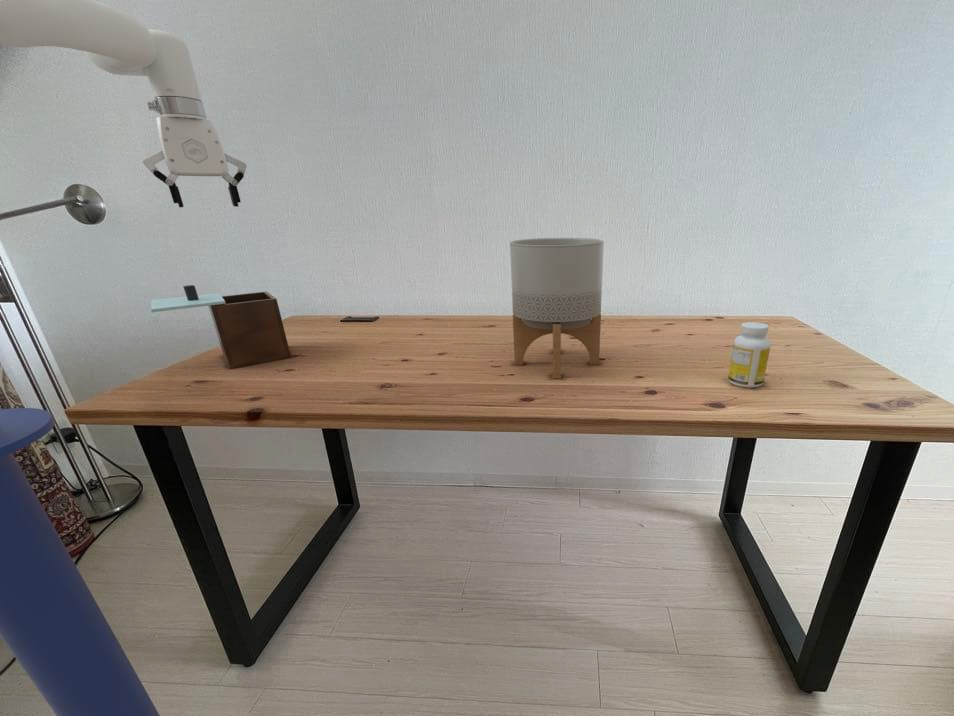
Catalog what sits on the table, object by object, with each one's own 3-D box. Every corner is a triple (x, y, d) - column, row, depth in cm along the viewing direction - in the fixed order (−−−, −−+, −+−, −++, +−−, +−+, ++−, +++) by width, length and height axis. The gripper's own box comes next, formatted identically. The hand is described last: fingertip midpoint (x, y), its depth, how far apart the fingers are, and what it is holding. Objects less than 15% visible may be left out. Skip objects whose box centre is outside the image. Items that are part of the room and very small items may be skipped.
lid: (152, 312, 91) (145, 294, 89) (152, 302, 100) (146, 286, 99) (225, 303, 98) (220, 286, 96) (219, 295, 107) (215, 279, 106)
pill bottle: (763, 379, 91) (775, 322, 87) (762, 391, 86) (774, 330, 81) (729, 375, 94) (738, 319, 89) (725, 385, 89) (735, 327, 84)
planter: (595, 350, 110) (599, 237, 100) (602, 378, 93) (608, 244, 83) (518, 351, 111) (513, 238, 100) (511, 378, 94) (505, 246, 83)
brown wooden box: (229, 368, 102) (210, 306, 96) (223, 355, 111) (205, 297, 106) (291, 357, 109) (276, 298, 103) (280, 345, 118) (266, 291, 113)
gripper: (124, 103, 81) (158, 207, 88) (236, 113, 91) (258, 206, 98) (126, 110, 87) (158, 207, 94) (231, 118, 97) (253, 206, 104)
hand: (209, 206), depth 96 cm, fingers open, 9 cm apart
